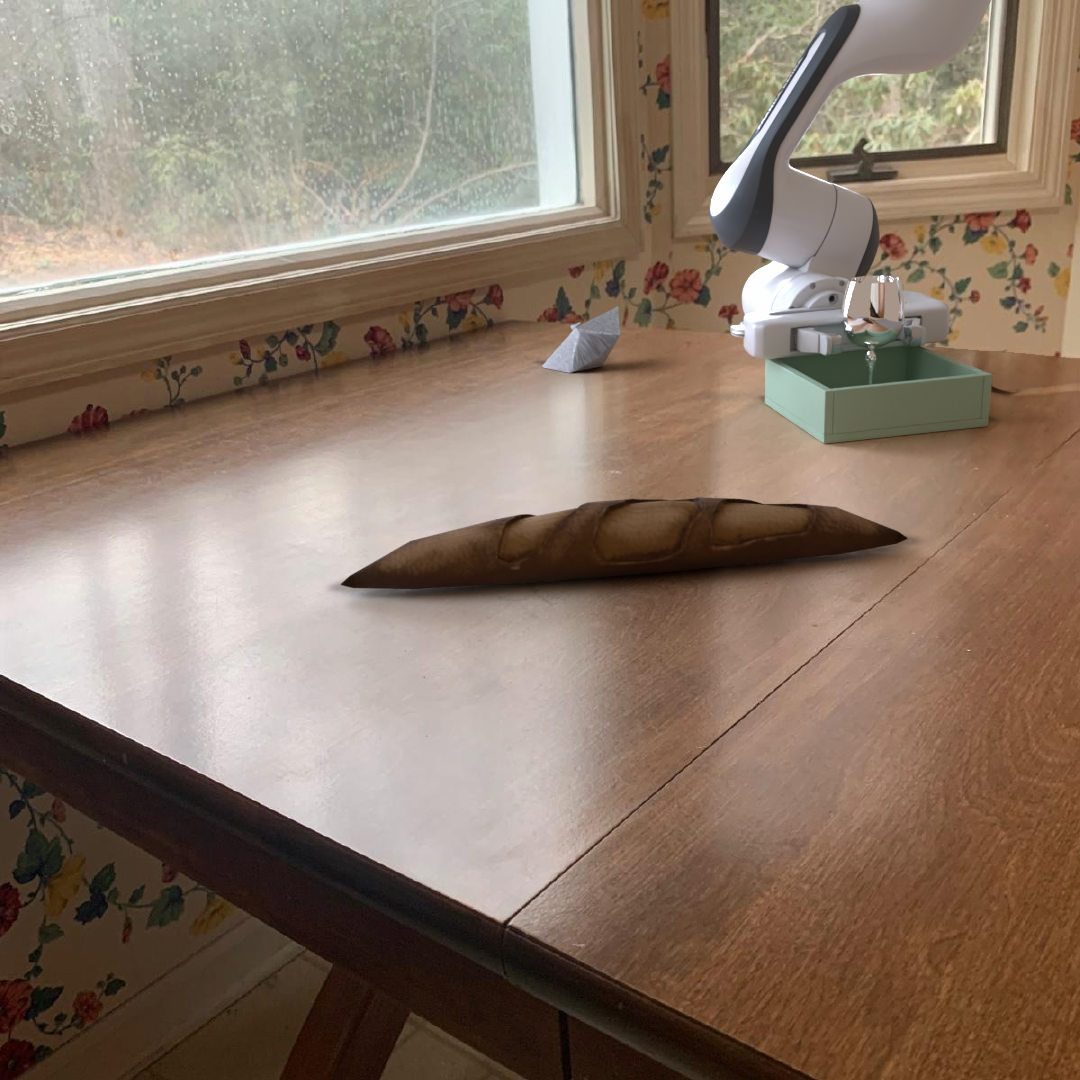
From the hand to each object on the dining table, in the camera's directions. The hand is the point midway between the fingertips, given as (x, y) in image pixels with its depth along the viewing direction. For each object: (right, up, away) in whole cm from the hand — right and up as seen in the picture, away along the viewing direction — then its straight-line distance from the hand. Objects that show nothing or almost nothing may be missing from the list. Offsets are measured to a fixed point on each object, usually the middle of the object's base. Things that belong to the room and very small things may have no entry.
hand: (876, 342), depth 102 cm
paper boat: (-25, +3, +33) cm, 41 cm away
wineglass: (0, -6, +3) cm, 7 cm away
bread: (-26, -21, -29) cm, 44 cm away
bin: (0, -6, +3) cm, 7 cm away
